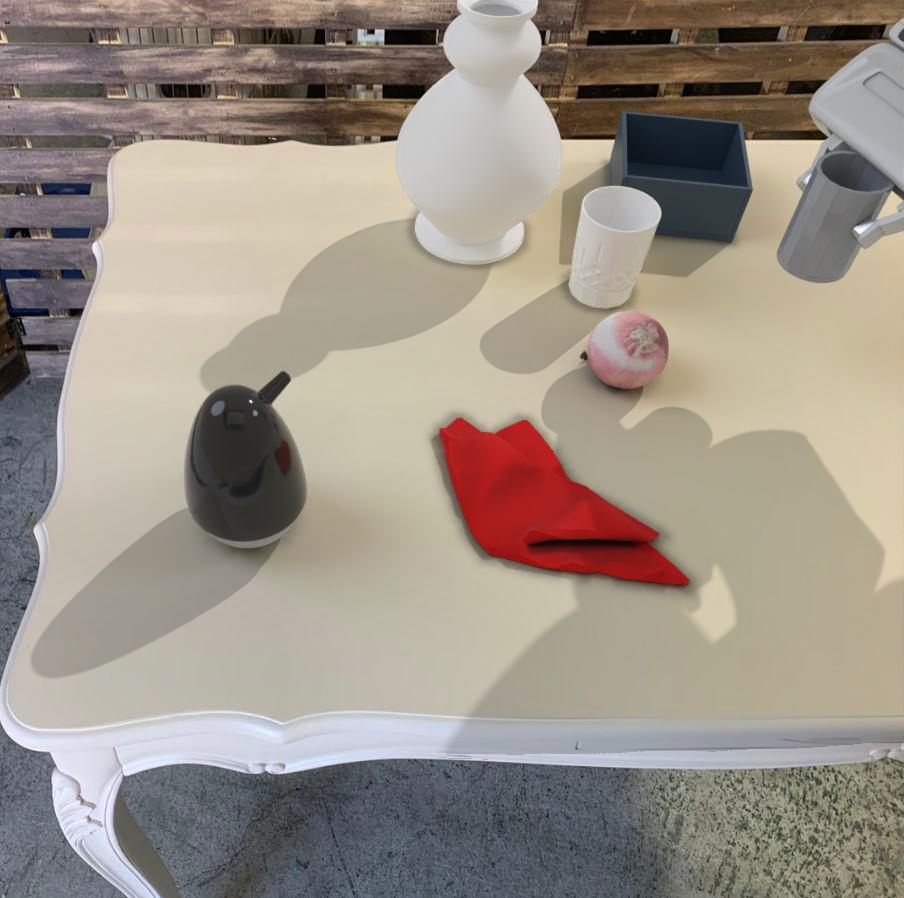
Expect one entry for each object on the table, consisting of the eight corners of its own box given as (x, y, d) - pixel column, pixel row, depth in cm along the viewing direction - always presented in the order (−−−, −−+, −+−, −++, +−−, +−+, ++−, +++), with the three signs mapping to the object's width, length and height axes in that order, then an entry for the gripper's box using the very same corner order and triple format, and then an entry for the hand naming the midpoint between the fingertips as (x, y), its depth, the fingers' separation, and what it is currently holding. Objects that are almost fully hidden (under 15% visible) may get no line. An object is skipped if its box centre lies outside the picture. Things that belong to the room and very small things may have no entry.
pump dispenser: (334, 522, 79) (331, 398, 66) (239, 587, 75) (216, 468, 62) (263, 456, 83) (247, 328, 71) (169, 514, 79) (135, 389, 67)
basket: (723, 174, 111) (742, 122, 106) (731, 243, 103) (753, 189, 98) (608, 163, 112) (622, 110, 107) (608, 230, 104) (622, 176, 99)
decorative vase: (534, 185, 109) (575, -43, 89) (557, 279, 99) (611, 44, 79) (388, 187, 109) (397, -43, 89) (396, 281, 98) (408, 45, 78)
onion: (595, 407, 87) (612, 351, 82) (567, 354, 92) (581, 297, 86) (671, 394, 89) (693, 338, 83) (639, 342, 93) (659, 286, 87)
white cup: (592, 257, 101) (613, 176, 93) (650, 290, 98) (677, 208, 90) (548, 288, 98) (566, 207, 90) (607, 323, 95) (630, 242, 87)
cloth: (390, 455, 83) (390, 439, 82) (501, 394, 88) (504, 377, 86) (586, 657, 71) (593, 643, 69) (704, 573, 76) (712, 558, 74)
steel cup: (842, 243, 85) (888, 154, 77) (853, 286, 81) (903, 197, 74) (772, 236, 85) (811, 147, 78) (780, 279, 81) (822, 189, 74)
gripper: (1083, 176, 69) (915, 303, 75) (909, 52, 81) (774, 171, 87) (1076, 130, 65) (897, 269, 71) (892, 6, 76) (751, 135, 82)
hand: (828, 215), depth 79 cm, fingers closed on steel cup, 6 cm apart
